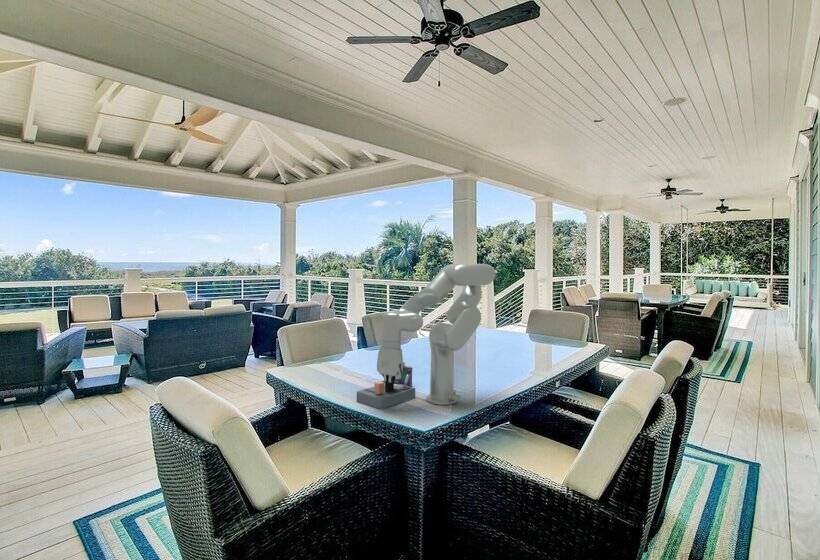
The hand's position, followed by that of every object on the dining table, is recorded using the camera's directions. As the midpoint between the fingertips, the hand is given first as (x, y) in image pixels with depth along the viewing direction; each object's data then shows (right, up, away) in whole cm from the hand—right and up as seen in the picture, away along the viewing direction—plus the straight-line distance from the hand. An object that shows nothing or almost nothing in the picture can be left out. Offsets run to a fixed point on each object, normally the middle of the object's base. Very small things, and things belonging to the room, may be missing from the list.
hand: (389, 391), depth 161 cm
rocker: (+1, 0, +8) cm, 8 cm away
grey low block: (-2, -6, +10) cm, 12 cm away
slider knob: (-4, -2, +4) cm, 6 cm away
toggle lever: (+6, -1, +12) cm, 13 cm away
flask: (+5, -6, +31) cm, 32 cm away
